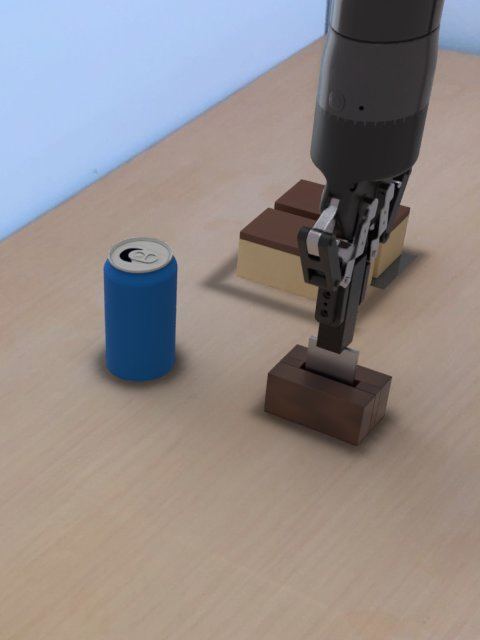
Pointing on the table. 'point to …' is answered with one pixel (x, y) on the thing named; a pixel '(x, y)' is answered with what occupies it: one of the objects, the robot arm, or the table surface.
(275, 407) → the knife block
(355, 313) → the knife
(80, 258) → the table surface
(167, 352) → the beverage can
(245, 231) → the cake slice
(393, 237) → the block
